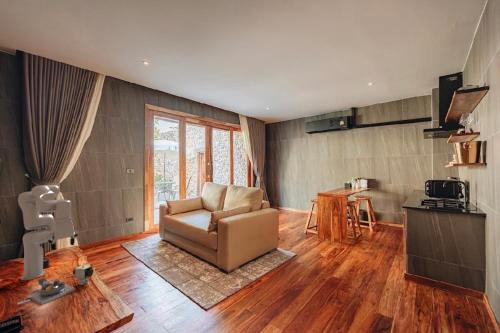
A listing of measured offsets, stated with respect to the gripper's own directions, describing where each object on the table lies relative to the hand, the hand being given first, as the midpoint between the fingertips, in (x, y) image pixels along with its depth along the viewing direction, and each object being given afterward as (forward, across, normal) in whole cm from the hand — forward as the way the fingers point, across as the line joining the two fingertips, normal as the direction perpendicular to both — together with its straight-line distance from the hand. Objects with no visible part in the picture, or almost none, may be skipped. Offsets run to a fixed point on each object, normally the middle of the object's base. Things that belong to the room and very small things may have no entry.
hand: (63, 247), depth 136 cm
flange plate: (+26, +8, +2) cm, 27 cm away
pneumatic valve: (+26, -10, +5) cm, 28 cm away
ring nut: (+24, +5, -4) cm, 25 cm away
